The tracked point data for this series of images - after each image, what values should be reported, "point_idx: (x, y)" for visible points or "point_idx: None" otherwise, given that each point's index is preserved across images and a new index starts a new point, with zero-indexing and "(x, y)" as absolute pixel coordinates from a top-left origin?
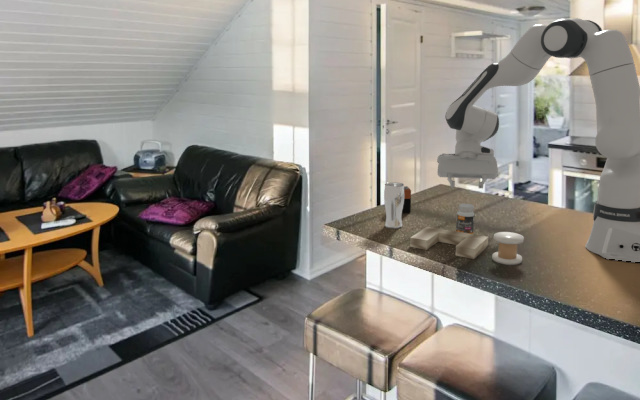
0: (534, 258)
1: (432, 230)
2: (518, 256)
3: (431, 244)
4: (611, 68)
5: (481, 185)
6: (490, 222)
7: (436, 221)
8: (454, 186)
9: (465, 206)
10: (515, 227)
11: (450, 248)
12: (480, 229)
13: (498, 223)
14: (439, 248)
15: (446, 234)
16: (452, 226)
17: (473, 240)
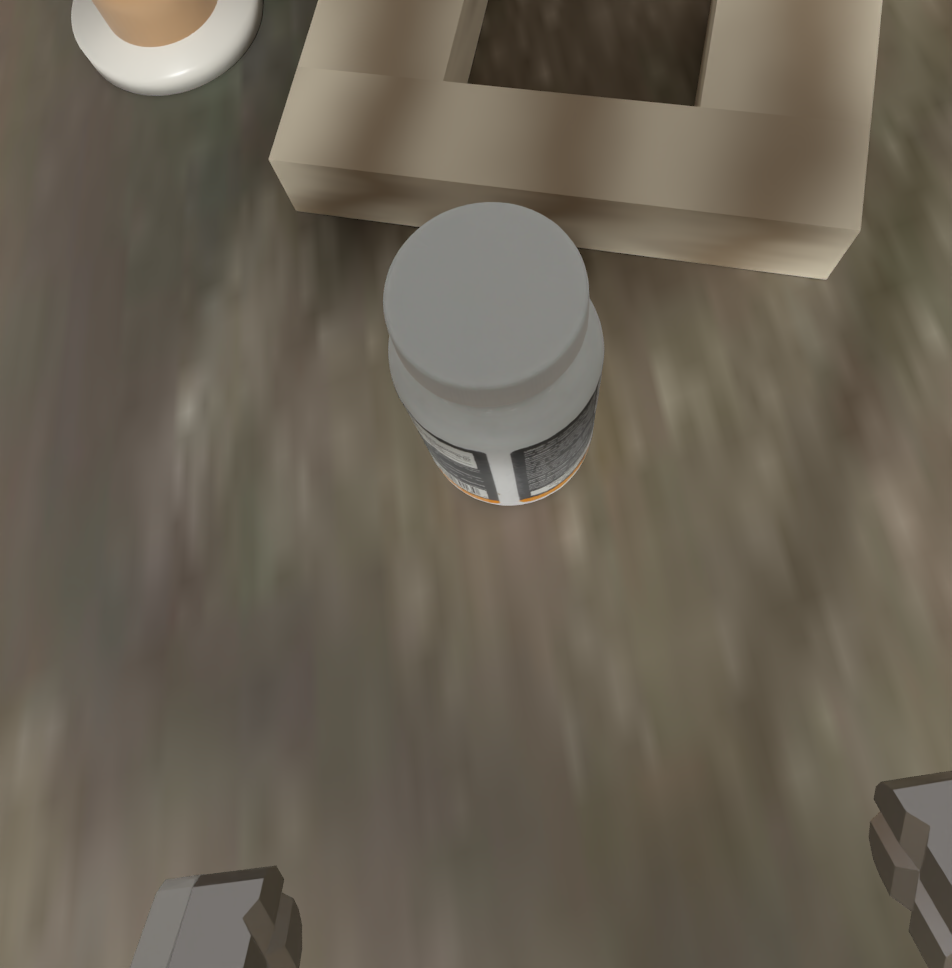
0: (4, 103)
1: (771, 140)
2: (91, 22)
3: (707, 34)
4: None
5: (203, 882)
6: None
7: None
8: (877, 824)
9: (487, 231)
10: (47, 837)
11: (557, 67)
12: (382, 638)
13: None
14: (634, 37)
15: (622, 103)
16: (670, 645)
17: (380, 35)
